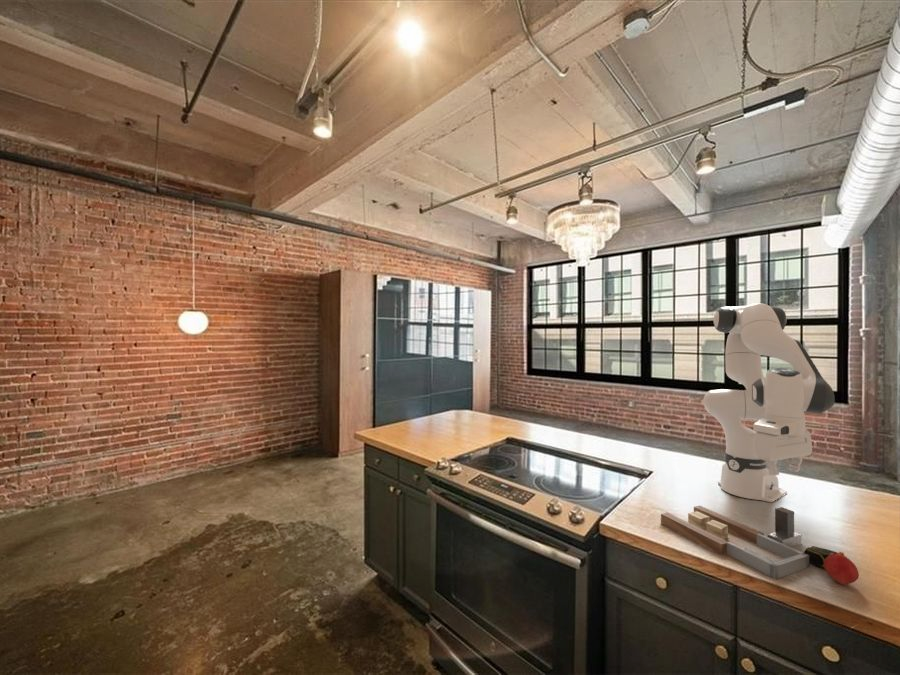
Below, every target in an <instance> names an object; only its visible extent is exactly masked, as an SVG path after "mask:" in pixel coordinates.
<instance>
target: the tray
mask: <svg viewBox="0 0 900 675" xmlns="http://www.w3.org/2000/svg"><path fill="white" fill-rule="evenodd" d="M756 545H757V546H758V547H761V548H764V549H765V550H768V551H770V552H772V553H774V554H777V555H778V556H781V557H783V559H779V560H778V561H773V560H771V559H769V558H767V557H765V556H763V555H761V554H759V553H757V552H755V551H753V550H751V549H748V548H746V547H745V548H743V547H742V546H740V545H737V544H735V543H733V542H731V541H727V554H726V555H728V556H730V557H732V558H733V559H736V560H738V561H739V562H741V563H743V564H745V565H747V566H749V567H751V568H753V569H755V570H756V571H758V572H760V573H763V574H764V575H766V576H769V577H770V578H772V579H774V580H777V579H780V578H784V577H786V576H788V575H791V574H794V573H797V572H799V571H801V570H805V569H806V568H807V569H808V568H809V567H810V562H809V555H807V554H805V553H804V551H803V552H802V551H800V550H798V549H796V548H794V547H793V548H791V547H789V546H787V545H784V544H782V543H780V542H777V541H775V540H773V539H771V538H768V536H766V535H765V534H764V535H761V534H757V544H756Z"/></svg>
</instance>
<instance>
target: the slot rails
mask: <svg viewBox="0 0 900 675" xmlns="http://www.w3.org/2000/svg"><path fill="white" fill-rule="evenodd" d="M696 511H697V512H700V513H702V514H704V515H706V516H709V521H711V520H715V521H717V522H720V523H723V524H725V525H728V532H730V533H732V534H734V535H736V536H739V537H741V538H743V539H744V540H747V541H749V542H751V543H753V544H756V545H757V534H761V535H764V536H765V533H764V532H762V531H761V530H757V529H755V528H753V527H751V526H748V525H747V524H744V523H742V522H740V521H738V520H737V521H736V520H734V519H732V518H730V517H727V516H725V515H724V514H723V515H722V514H721V513H719V512H717V511H713V510H711V509H709V508H707V507H705V506H702V505H695V506H693V512H696ZM660 524H662V525H664V526H665V527H667V528H670V529H672V530H674V531H675V532H677V533H679V534H681V535H683V536H685V537H686V538H689V539H690V540H692V541H694V542H696V543H698V544H699V545H701V546H703V547H704V548H705V547H706V548H707V549H709V550H711V551H713V552H715V553H717V554H719V555H720V556H725V555H728V554H727V542H728V541H727V540H726V539H725V540H723V539H721V538H719V537H717V536H715V535H713V534H711V533H709V532H707V531H706V530H703V529H701V528H699V527H697V526H695V525H693V524H690V523H688V521H687V520H684V519H682V518H680V517H678V516H676V515H674V514H672V513H670V512H667V511H666V512H663V513H660Z"/></svg>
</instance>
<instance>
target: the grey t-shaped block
mask: <svg viewBox="0 0 900 675" xmlns="http://www.w3.org/2000/svg"><path fill="white" fill-rule="evenodd" d="M774 511H775V512H774V514H775V515H774V519H775V520H774V524H775V525H774V526H775V527H774V532H771V533H767V537H768V538H771V539H773V540H775V541H777V542H780V543H782V544H784V545H787V546H789V547H791V548H793V549H794V548H796V547H798V546H800V545H802V539H803V537H802V536H803V535H802V534H801V533H798V532H796V531H795V511H793V510H790V509H788V508H786V507H783V506H780V507H777V508H776V507H775V510H774Z"/></svg>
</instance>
